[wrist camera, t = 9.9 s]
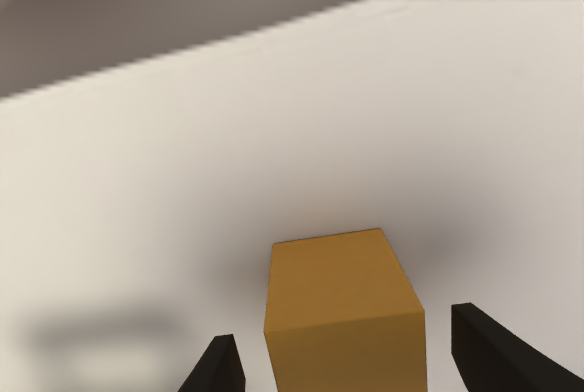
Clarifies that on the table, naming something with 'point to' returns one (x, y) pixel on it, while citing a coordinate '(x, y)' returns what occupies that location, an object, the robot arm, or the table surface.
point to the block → (343, 317)
